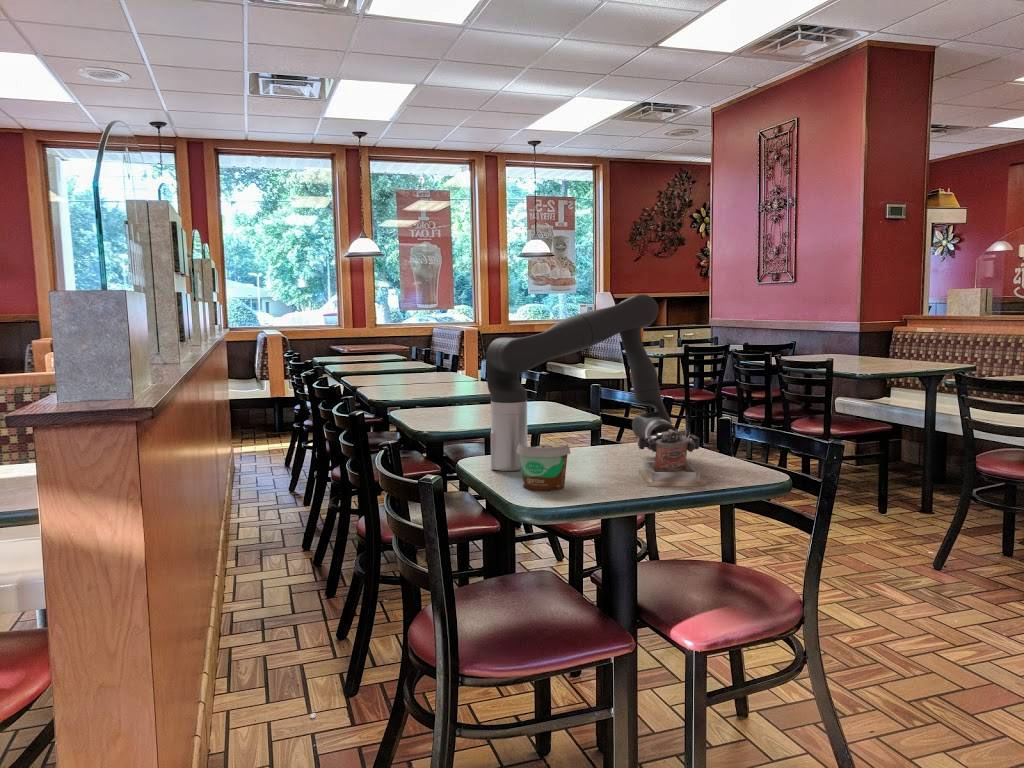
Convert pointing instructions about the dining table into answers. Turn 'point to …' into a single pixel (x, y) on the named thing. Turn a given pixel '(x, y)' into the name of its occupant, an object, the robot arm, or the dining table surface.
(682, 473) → the tray
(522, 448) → the food container
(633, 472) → the dining table surface
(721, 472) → the dining table surface
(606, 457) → the dining table surface
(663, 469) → the lighter
